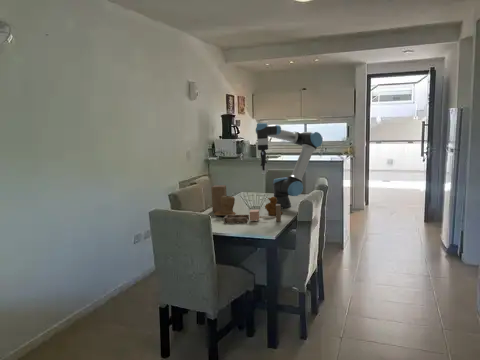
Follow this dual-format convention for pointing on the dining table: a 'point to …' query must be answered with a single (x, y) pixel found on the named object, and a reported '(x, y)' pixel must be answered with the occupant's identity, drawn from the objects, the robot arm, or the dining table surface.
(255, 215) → the corded block
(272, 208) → the stuffed squirrel
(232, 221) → the walnut lane
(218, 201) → the wooden block
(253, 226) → the dining table surface
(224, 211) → the brown boot
